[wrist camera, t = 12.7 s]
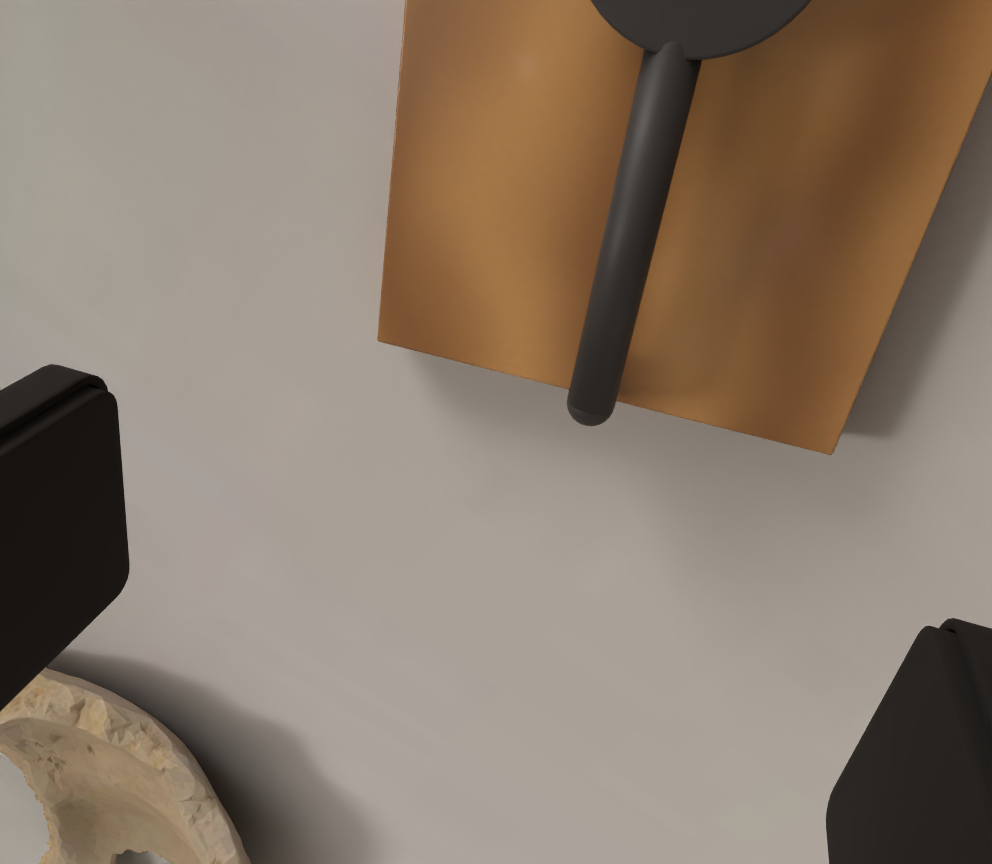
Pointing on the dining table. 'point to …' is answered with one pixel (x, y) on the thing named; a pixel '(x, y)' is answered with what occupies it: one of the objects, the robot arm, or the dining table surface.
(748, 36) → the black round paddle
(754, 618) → the dining table surface
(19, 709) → the beige bone fragment
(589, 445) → the dining table surface
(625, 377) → the board
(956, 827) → the robot arm
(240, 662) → the dining table surface
